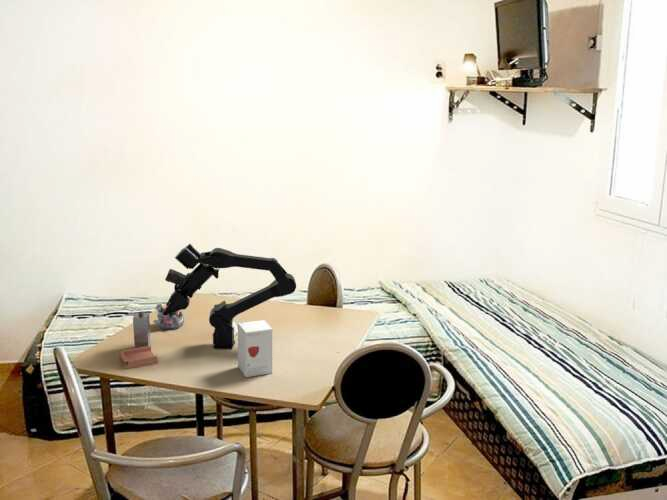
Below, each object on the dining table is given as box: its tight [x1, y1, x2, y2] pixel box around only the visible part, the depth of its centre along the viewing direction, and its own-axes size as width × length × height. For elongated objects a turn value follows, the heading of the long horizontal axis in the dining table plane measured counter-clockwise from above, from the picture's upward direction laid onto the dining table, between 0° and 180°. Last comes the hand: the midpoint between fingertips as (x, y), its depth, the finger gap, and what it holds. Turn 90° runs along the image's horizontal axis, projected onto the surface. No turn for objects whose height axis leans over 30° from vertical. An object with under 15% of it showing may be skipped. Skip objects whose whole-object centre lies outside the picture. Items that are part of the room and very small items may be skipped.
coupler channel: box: [119, 345, 158, 370], centre depth 203 cm, size 10×10×2 cm
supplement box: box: [237, 319, 273, 378], centre depth 196 cm, size 9×9×15 cm
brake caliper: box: [152, 297, 186, 330], centre depth 234 cm, size 11×11×12 cm
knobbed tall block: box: [132, 311, 152, 349], centre depth 211 cm, size 4×5×13 cm
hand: (165, 310), depth 211 cm, fingers open, 9 cm apart
